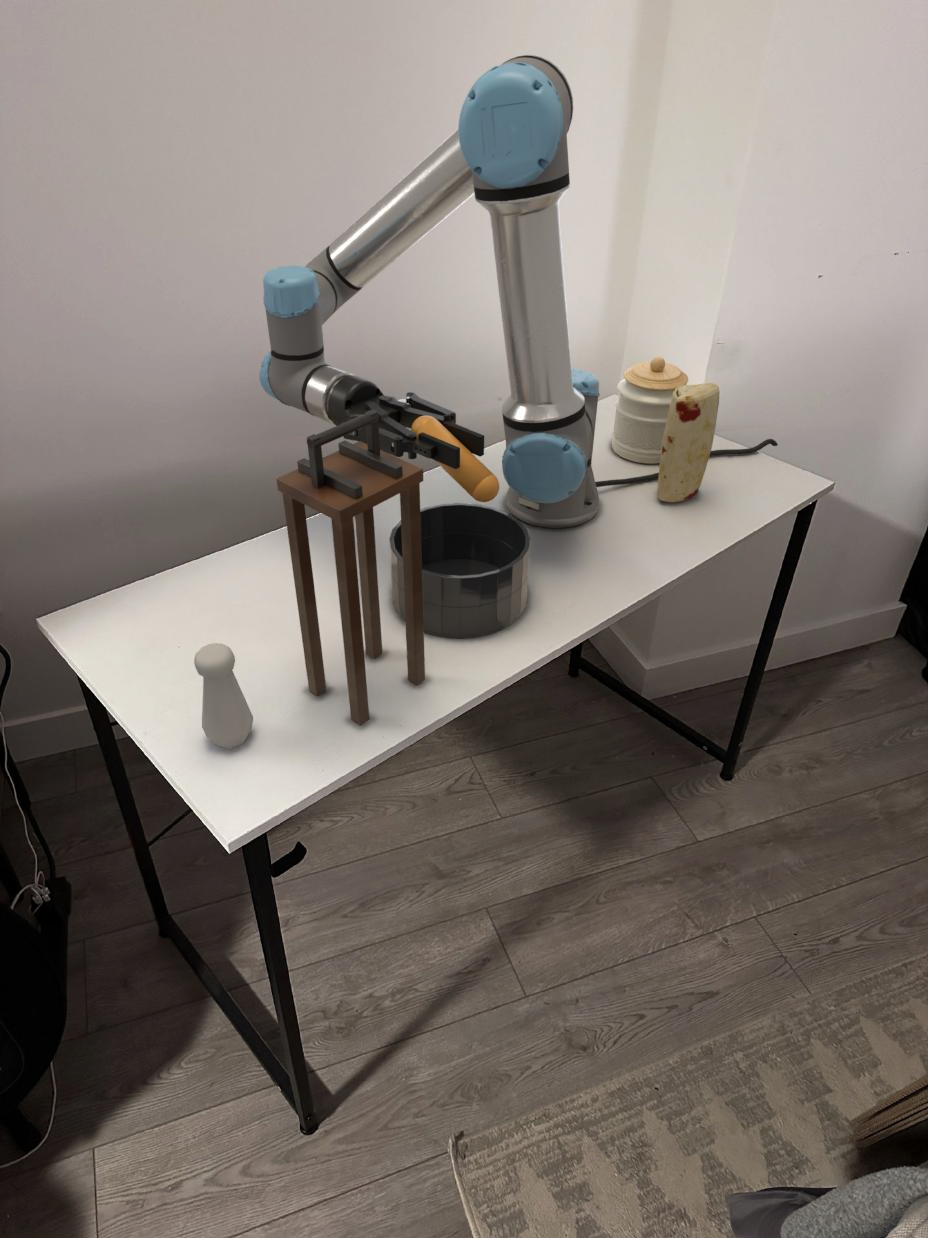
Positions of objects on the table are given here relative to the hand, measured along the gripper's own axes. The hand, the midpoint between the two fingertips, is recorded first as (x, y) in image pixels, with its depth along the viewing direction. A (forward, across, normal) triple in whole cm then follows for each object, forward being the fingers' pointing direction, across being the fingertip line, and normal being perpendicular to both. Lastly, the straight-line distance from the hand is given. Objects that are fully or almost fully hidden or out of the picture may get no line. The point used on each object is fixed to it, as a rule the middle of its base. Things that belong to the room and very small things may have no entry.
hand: (469, 452), depth 112 cm
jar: (-7, -58, -24) cm, 64 cm away
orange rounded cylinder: (-3, 0, -4) cm, 5 cm away
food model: (+6, -47, -24) cm, 53 cm away
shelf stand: (+2, +22, -24) cm, 32 cm away
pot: (-2, 0, -24) cm, 24 cm away
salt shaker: (-3, +39, -24) cm, 46 cm away
